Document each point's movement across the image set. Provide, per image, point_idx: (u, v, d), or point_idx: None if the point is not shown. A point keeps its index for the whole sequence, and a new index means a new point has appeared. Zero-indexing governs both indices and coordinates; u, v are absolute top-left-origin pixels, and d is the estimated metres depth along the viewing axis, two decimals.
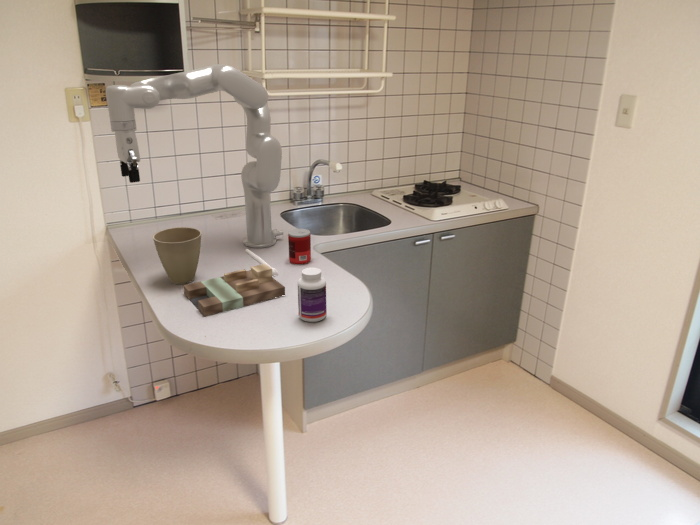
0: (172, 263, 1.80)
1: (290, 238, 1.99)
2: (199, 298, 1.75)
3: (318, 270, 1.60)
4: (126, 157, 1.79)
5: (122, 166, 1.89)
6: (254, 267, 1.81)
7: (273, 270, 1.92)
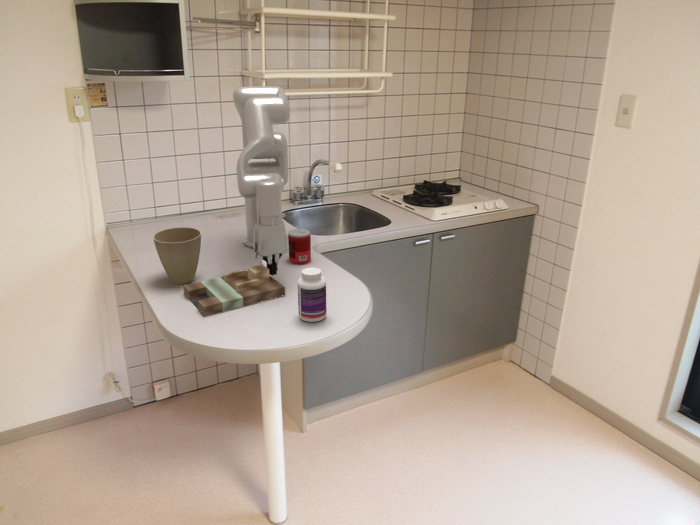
0: (172, 263, 1.80)
1: (290, 238, 1.99)
2: (199, 298, 1.75)
3: (318, 270, 1.60)
4: None
5: None
6: (251, 268, 1.80)
7: None
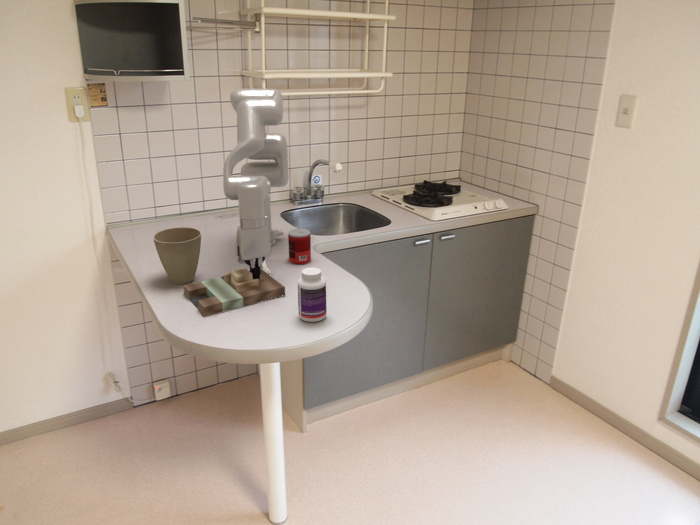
0: (172, 263, 1.80)
1: (290, 238, 1.99)
2: (199, 298, 1.75)
3: (318, 270, 1.60)
4: None
5: None
6: (234, 272, 1.77)
7: (266, 270, 1.92)
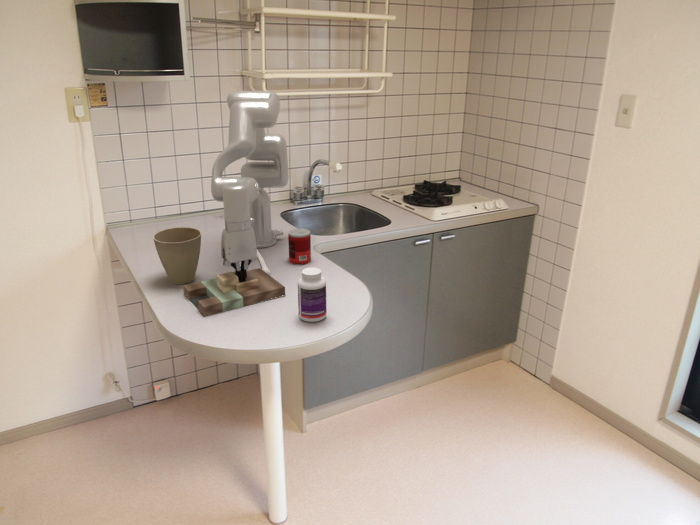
0: (172, 263, 1.80)
1: (290, 238, 1.99)
2: (199, 298, 1.75)
3: (318, 270, 1.60)
4: None
5: None
6: (220, 275, 1.74)
7: (265, 270, 1.92)
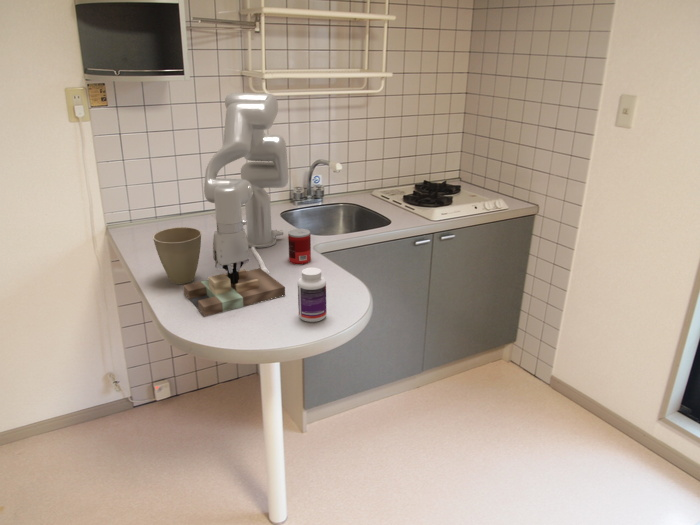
0: (172, 263, 1.80)
1: (290, 238, 1.99)
2: (199, 298, 1.75)
3: (318, 270, 1.60)
4: None
5: None
6: (212, 277, 1.73)
7: (264, 270, 1.92)
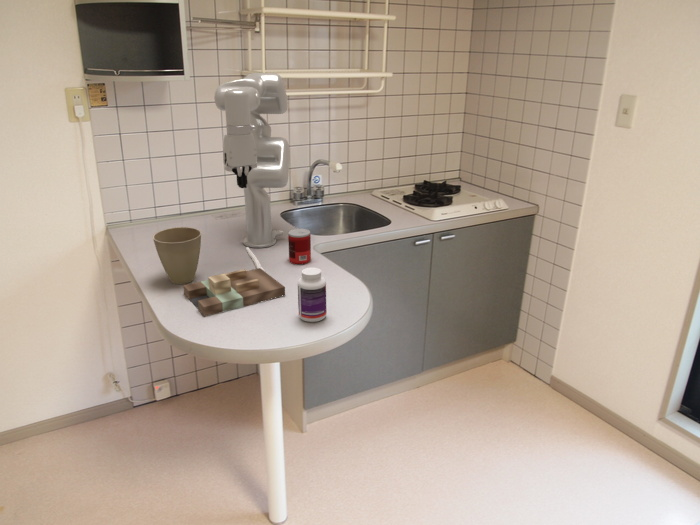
0: (172, 263, 1.80)
1: (290, 238, 1.99)
2: (199, 298, 1.75)
3: (318, 270, 1.60)
4: None
5: None
6: (212, 277, 1.73)
7: None
